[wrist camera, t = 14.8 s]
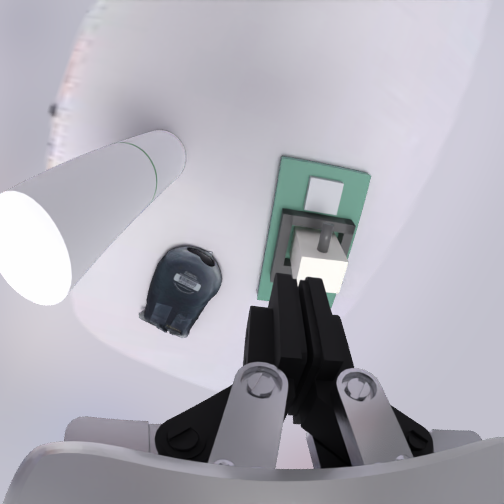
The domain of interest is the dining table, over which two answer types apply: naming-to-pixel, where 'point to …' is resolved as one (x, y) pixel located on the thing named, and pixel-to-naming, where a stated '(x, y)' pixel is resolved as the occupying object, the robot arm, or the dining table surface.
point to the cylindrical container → (80, 211)
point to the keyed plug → (318, 256)
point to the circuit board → (311, 211)
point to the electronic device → (180, 291)
